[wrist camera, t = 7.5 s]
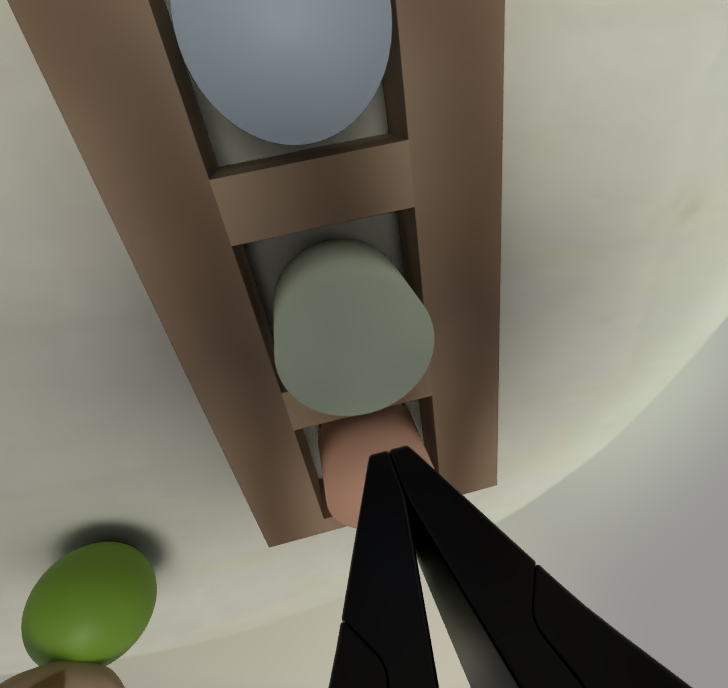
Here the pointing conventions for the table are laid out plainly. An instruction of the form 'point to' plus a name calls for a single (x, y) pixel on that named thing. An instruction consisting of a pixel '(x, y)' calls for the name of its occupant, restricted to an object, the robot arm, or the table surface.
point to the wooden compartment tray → (297, 224)
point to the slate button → (286, 61)
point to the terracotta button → (361, 454)
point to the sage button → (348, 329)
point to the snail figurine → (86, 617)
